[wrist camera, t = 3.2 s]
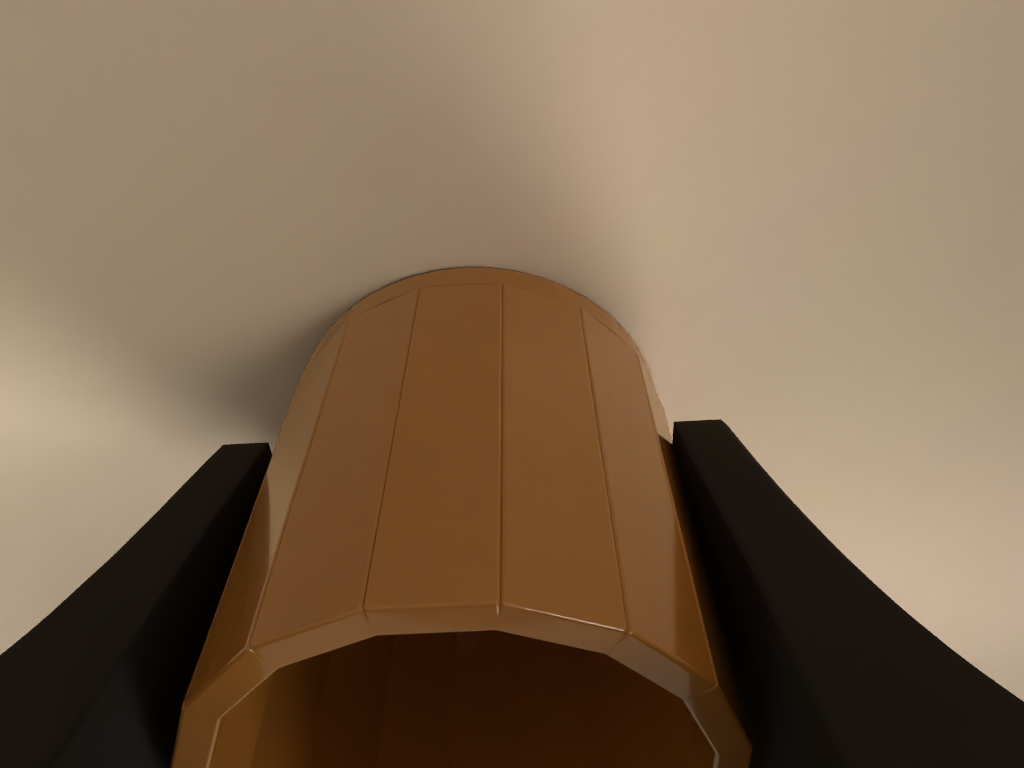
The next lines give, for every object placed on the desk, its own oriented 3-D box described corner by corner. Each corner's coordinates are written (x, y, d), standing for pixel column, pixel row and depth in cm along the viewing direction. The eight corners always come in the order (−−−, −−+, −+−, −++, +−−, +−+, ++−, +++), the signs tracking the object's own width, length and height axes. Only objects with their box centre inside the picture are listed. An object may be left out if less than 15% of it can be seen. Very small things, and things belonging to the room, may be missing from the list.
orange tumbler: (730, 412, 12) (868, 777, 8) (497, 593, 14) (492, 958, 10) (454, 186, 10) (412, 496, 6) (231, 438, 12) (69, 808, 8)
